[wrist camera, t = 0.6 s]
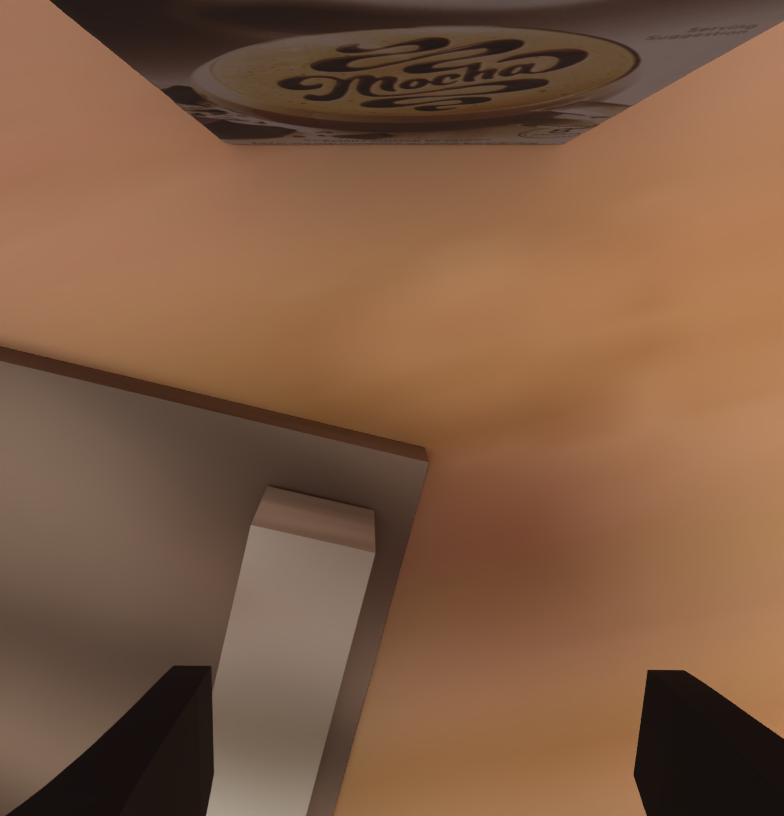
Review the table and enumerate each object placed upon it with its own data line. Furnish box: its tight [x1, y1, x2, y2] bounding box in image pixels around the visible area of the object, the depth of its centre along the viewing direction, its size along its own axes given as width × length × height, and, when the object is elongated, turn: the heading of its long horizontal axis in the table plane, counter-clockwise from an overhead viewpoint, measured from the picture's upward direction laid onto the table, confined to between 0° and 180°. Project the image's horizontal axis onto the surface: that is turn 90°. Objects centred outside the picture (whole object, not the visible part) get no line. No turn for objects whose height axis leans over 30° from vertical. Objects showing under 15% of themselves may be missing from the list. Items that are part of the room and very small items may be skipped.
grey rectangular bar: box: [206, 486, 376, 816], centre depth 19 cm, size 12×3×3 cm, turn 166°
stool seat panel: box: [0, 347, 429, 816], centre depth 20 cm, size 16×15×4 cm
